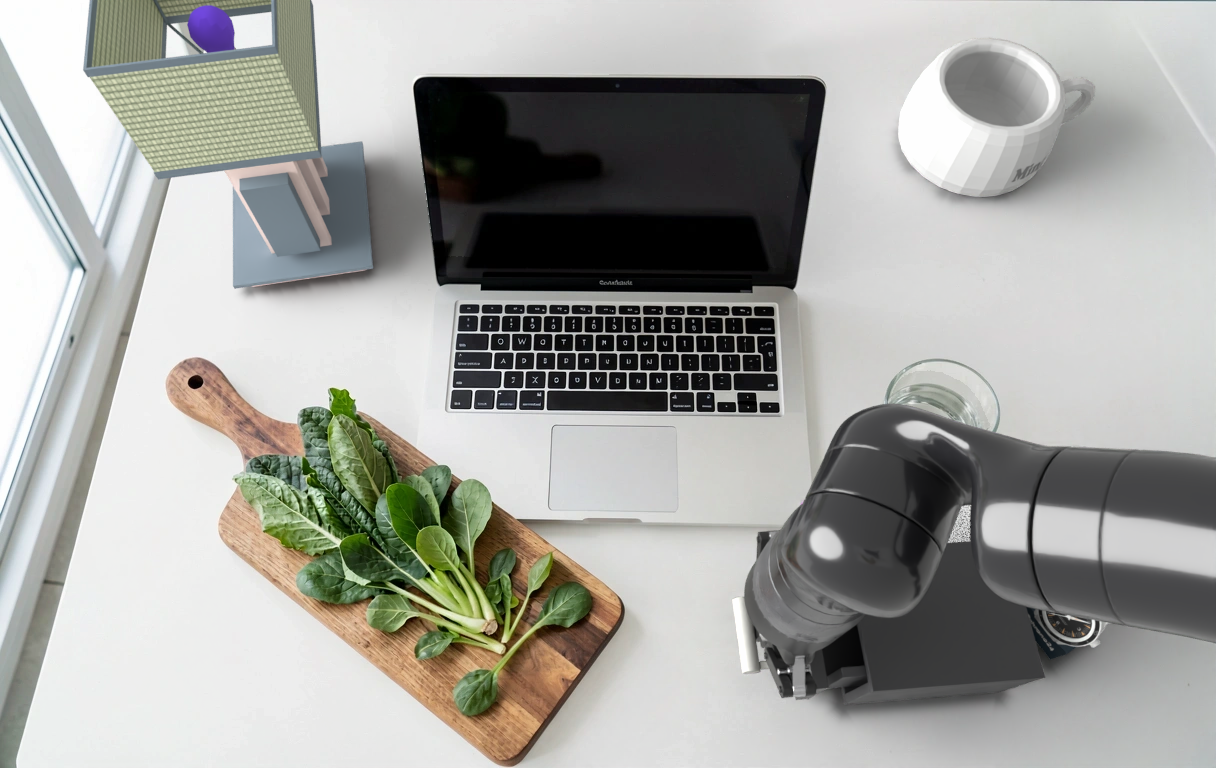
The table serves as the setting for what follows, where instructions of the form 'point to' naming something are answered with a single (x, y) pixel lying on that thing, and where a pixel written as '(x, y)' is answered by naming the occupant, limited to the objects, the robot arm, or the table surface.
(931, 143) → the mug
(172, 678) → the table surface
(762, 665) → the drawer
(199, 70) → the desk lamp
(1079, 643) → the watch
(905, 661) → the grey square sleeve
